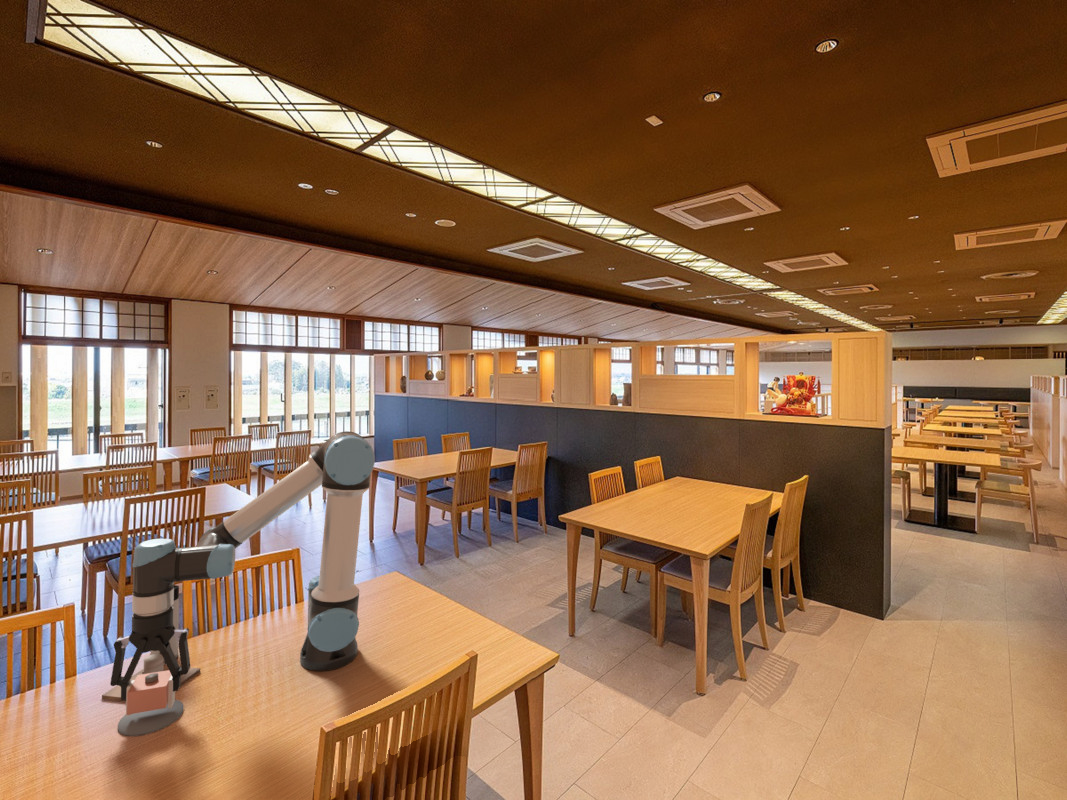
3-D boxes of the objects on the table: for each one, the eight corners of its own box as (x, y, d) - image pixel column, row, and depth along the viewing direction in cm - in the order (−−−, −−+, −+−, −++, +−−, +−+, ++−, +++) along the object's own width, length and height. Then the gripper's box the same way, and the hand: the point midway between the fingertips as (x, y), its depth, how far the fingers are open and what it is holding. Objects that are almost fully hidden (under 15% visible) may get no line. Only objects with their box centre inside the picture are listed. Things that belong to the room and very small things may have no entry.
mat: (196, 704, 120) (196, 701, 120) (152, 739, 108) (153, 736, 108) (150, 698, 122) (150, 696, 122) (102, 732, 110) (103, 730, 110)
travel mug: (164, 666, 135) (165, 593, 134) (144, 663, 136) (145, 590, 136) (184, 654, 141) (185, 584, 140) (165, 651, 142) (166, 581, 142)
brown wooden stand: (200, 672, 133) (200, 646, 133) (154, 705, 119) (155, 676, 119) (152, 667, 135) (152, 641, 135) (101, 699, 121) (102, 670, 121)
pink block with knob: (165, 707, 113) (166, 681, 113) (126, 714, 110) (127, 688, 110) (173, 690, 119) (174, 665, 119) (137, 696, 117) (137, 670, 116)
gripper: (207, 596, 122) (205, 690, 122) (104, 608, 114) (102, 707, 114) (201, 609, 115) (199, 708, 115) (90, 623, 107) (88, 729, 107)
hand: (151, 708), depth 115 cm, fingers closed on pink block with knob, 7 cm apart
